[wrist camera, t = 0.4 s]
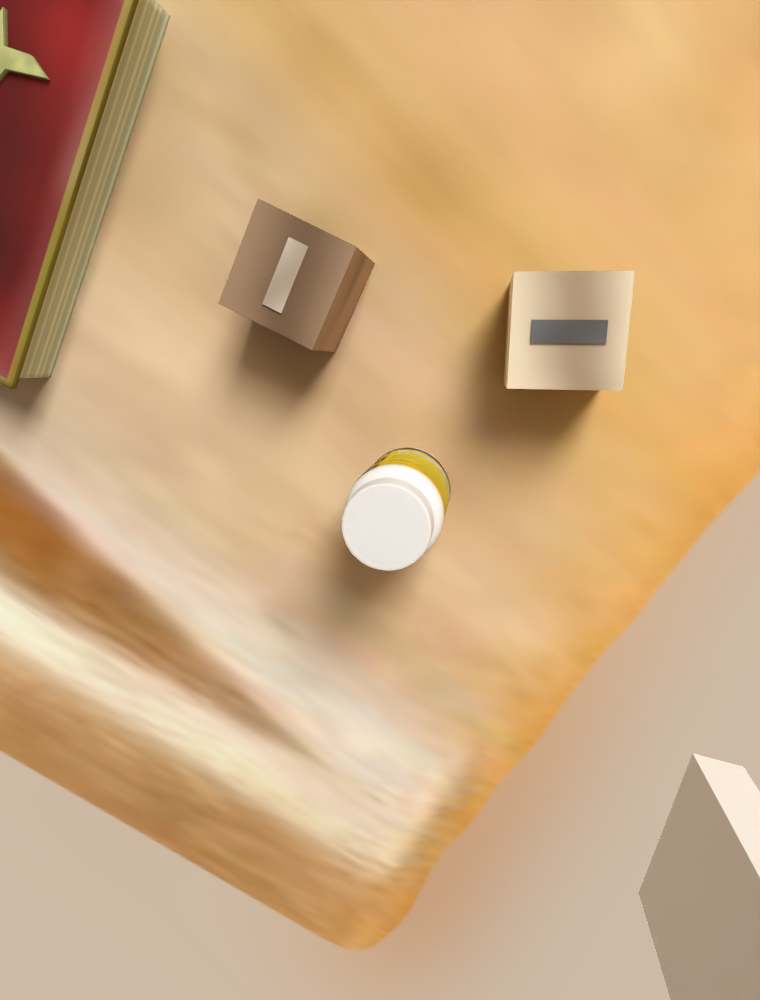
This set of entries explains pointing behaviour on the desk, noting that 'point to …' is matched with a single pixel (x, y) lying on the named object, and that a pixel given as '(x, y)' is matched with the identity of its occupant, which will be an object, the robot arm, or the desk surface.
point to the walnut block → (296, 279)
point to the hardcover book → (61, 155)
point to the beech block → (568, 330)
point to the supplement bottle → (396, 509)
